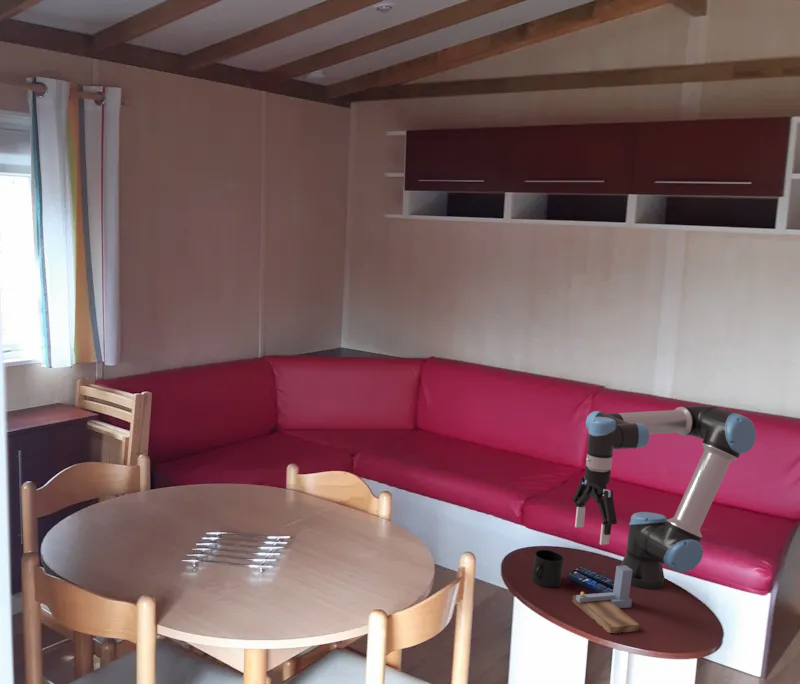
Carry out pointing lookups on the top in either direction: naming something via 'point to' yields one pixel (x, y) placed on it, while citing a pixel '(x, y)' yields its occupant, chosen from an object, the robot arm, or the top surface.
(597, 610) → the board
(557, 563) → the mug
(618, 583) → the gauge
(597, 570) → the top surface
